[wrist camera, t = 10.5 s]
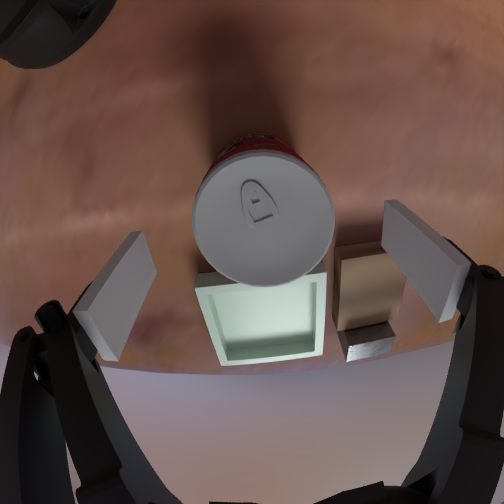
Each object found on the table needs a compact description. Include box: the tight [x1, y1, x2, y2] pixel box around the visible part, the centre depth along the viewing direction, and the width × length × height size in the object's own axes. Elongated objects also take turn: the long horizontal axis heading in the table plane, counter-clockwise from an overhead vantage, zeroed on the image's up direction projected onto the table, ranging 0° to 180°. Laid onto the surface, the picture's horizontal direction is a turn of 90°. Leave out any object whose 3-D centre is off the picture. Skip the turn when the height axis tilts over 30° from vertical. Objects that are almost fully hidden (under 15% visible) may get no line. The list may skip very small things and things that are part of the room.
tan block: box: [332, 240, 406, 331], centre depth 29 cm, size 10×8×3 cm
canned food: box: [192, 133, 335, 287], centre depth 19 cm, size 8×8×11 cm
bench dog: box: [337, 321, 396, 362], centre depth 31 cm, size 3×6×5 cm, turn 98°
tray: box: [195, 260, 327, 366], centre depth 31 cm, size 13×13×2 cm
